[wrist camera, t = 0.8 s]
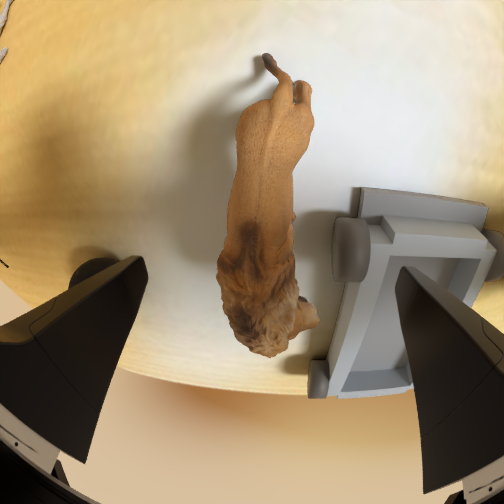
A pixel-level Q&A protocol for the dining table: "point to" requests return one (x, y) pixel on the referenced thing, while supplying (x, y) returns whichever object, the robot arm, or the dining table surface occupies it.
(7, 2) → the grey irregular piece
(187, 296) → the dining table surface
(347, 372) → the chassis
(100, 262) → the billiard ball
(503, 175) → the dining table surface
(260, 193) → the lion figurine
